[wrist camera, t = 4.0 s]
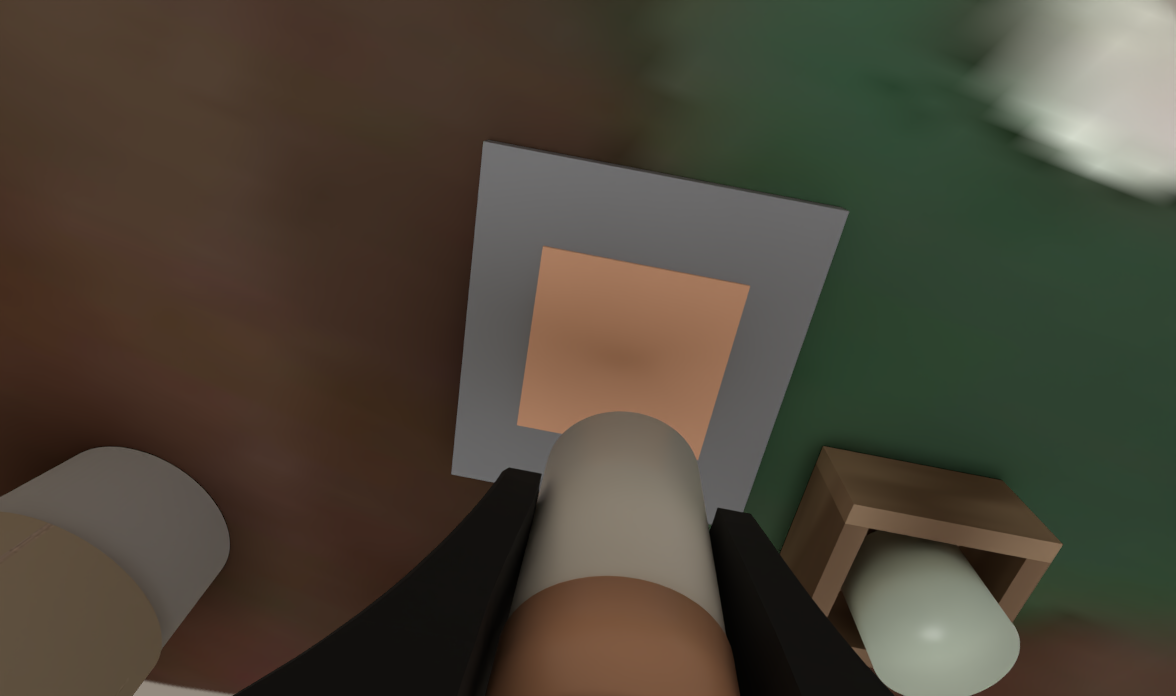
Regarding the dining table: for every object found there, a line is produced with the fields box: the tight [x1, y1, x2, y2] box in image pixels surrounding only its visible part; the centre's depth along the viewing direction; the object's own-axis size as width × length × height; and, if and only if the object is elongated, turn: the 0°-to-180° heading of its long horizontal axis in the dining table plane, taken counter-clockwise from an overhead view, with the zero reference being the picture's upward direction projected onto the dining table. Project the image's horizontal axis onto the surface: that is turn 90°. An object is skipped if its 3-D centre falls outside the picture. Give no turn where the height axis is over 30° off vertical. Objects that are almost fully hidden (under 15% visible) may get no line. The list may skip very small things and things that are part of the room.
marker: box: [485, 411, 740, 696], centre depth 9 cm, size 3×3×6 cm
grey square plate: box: [451, 140, 849, 524], centre depth 18 cm, size 10×11×1 cm
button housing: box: [780, 446, 1063, 668], centre depth 19 cm, size 6×6×3 cm
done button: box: [841, 530, 1020, 696], centre depth 17 cm, size 4×4×3 cm
